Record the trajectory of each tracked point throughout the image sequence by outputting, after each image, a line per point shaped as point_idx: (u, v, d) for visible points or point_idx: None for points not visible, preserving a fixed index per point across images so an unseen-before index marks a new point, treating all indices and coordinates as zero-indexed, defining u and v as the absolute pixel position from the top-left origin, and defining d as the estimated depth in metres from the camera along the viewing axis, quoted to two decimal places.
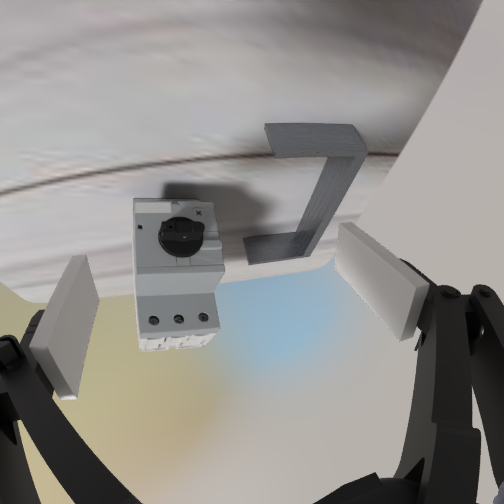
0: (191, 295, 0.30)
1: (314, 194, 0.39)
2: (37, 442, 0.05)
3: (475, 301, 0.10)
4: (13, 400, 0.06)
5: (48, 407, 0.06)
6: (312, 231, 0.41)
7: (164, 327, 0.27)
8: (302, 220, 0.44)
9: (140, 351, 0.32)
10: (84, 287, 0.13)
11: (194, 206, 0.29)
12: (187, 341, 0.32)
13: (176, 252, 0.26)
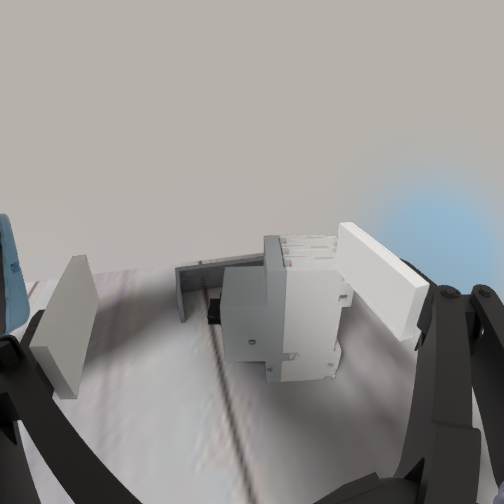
0: (264, 274, 0.34)
1: None
2: (37, 442, 0.05)
3: (475, 301, 0.10)
4: (13, 400, 0.06)
5: (48, 407, 0.06)
6: None
7: None
8: None
9: None
10: (84, 287, 0.13)
11: None
12: (307, 245, 0.32)
13: (219, 300, 0.33)
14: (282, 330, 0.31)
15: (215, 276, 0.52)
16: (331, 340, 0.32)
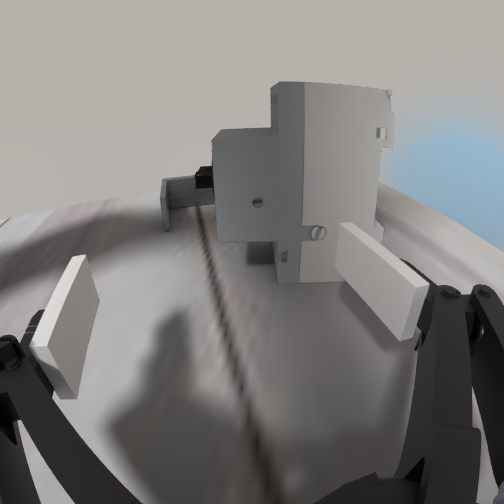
0: (272, 126, 0.24)
1: None
2: (37, 442, 0.05)
3: (475, 301, 0.10)
4: (13, 400, 0.06)
5: (48, 407, 0.06)
6: None
7: (275, 90, 0.20)
8: None
9: (389, 90, 0.18)
10: (84, 287, 0.13)
11: None
12: None
13: None
14: (301, 181, 0.21)
15: (210, 189, 0.42)
16: (370, 206, 0.22)
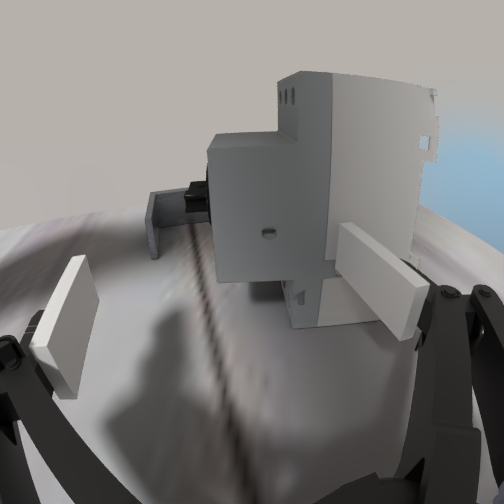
0: (282, 130, 0.19)
1: None
2: (37, 442, 0.05)
3: (475, 301, 0.10)
4: (13, 400, 0.06)
5: (47, 407, 0.06)
6: None
7: (290, 83, 0.15)
8: None
9: None
10: (84, 287, 0.13)
11: None
12: None
13: None
14: (326, 205, 0.16)
15: None
16: (406, 233, 0.17)
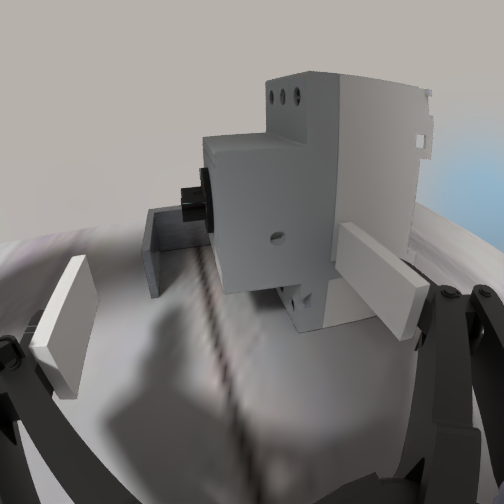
0: (275, 131, 0.19)
1: None
2: (37, 442, 0.05)
3: (475, 301, 0.10)
4: (13, 400, 0.06)
5: (47, 407, 0.06)
6: None
7: (290, 83, 0.15)
8: None
9: (428, 89, 0.14)
10: (84, 287, 0.13)
11: (211, 240, 0.22)
12: None
13: (202, 175, 0.17)
14: (333, 206, 0.16)
15: None
16: (405, 229, 0.18)
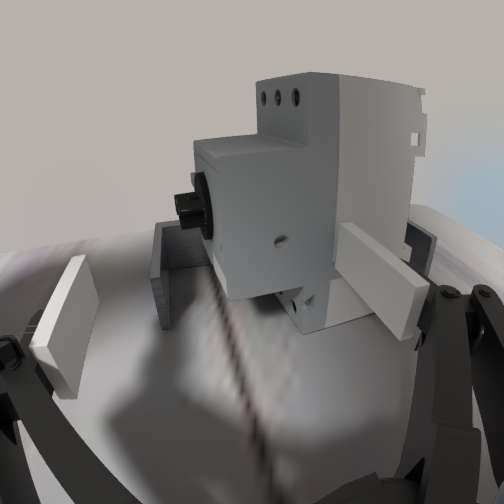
0: (269, 133, 0.19)
1: None
2: (37, 442, 0.05)
3: (475, 301, 0.10)
4: (13, 400, 0.06)
5: (48, 407, 0.06)
6: None
7: (287, 84, 0.15)
8: None
9: (422, 88, 0.15)
10: (84, 287, 0.13)
11: (207, 246, 0.21)
12: None
13: (198, 180, 0.17)
14: (334, 207, 0.16)
15: None
16: (401, 225, 0.18)
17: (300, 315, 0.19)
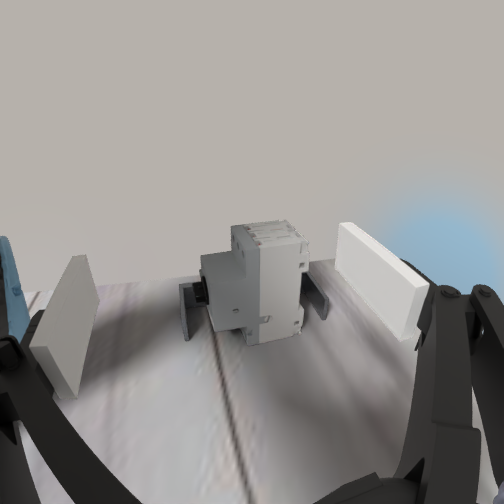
0: (235, 256, 0.42)
1: None
2: (37, 442, 0.05)
3: (475, 301, 0.10)
4: (13, 400, 0.06)
5: (48, 407, 0.06)
6: None
7: (240, 245, 0.38)
8: None
9: (307, 241, 0.38)
10: (84, 287, 0.13)
11: None
12: (267, 229, 0.42)
13: (203, 282, 0.40)
14: (258, 297, 0.40)
15: None
16: (295, 301, 0.42)
17: (246, 337, 0.43)
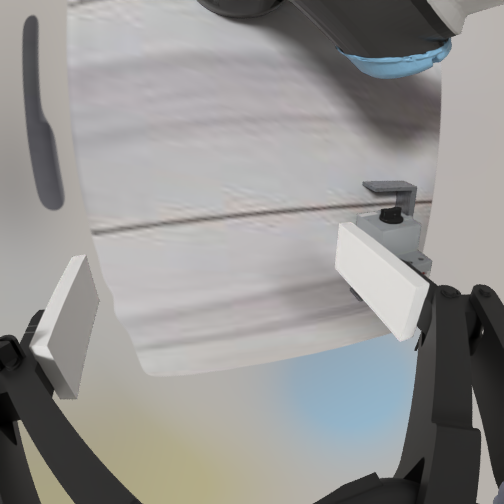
0: (408, 253, 0.44)
1: None
2: (37, 442, 0.05)
3: (475, 301, 0.10)
4: (13, 400, 0.06)
5: (48, 407, 0.06)
6: None
7: None
8: None
9: None
10: (84, 287, 0.13)
11: None
12: None
13: (394, 221, 0.44)
14: None
15: None
16: None
17: None
